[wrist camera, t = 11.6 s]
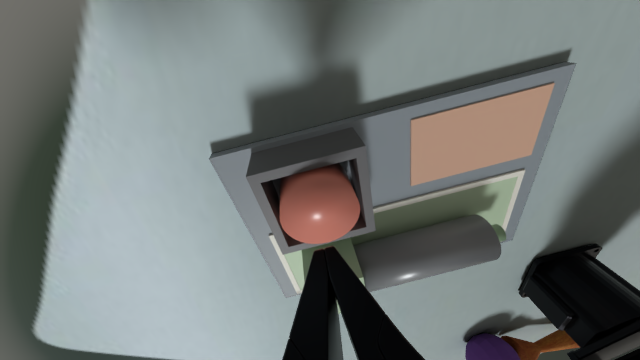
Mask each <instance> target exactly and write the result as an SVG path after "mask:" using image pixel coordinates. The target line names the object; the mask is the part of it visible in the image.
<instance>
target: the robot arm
mask: <svg viewBox="0 0 640 360" xmlns="http://www.w3.org/2000/svg"><path fill="white" fill-rule="evenodd" d="M601 249H602V247H600V246H599V245H597V244H593V245H589V246H585V247H581V248H578V249H574V250H570V251H566V252H562V253H558V254H554V255H550V256H546V257H542V258H539V259H537V260H535V261H534V262H533V264H532V266H531V268H530V270H529V272H528V274H527V277H526V279H525V281H524V283H523V285H522V287H521V289H520V291H519V294H520V295H521V297H523V298H524V297H529V298H530V299H531V300H532V301H533V303H534V304H535V305H536V306H537V307H538V308H539V309H540V310H541V311H542V312H543V314H544V315H545V316H546V317H547V318H548V319H549V320H550V321H551V322H552V323H553V324H554V326H555V327H556V328H557V329H559V330H561V331H563V330H564V331H565V332H566V333H567V334H568V335H569V336H570V337H571V338H572V339H573V340H574V341H575V342H576V343H577V345H578V346H579V347H580V349H578V350H576V351H570V352H569V353H567V355H568V356H569V357H570V359H571V360H610V359H612V358H614V357H616V356H618V355H621V354H623V353H625V352H627V351H629V350H631V349H634V348H636V347H638V346H640V291H639V290H638V289H636V288H635V287H634V286H632V285H631V284H630V283H628V282H627V281H626V280H624V279H623V278H622V277H620V276H619V275H617V274H616V273H615V272H613V271H612V270H611V269H609V268H608V267H607V266H605V265H604V264H603V263H601V262H600V261H598V260H597V259H596V256H597V255H598V254H599V252H600V251H601ZM337 302H338V305H339V308H340V311H341V314H342V317H343V320H344V323H345V325H346V328H347V331H348V334H349V337H350V340H351V343H352V345H353V348H354V351H355V354H356V357H357V360H425V359H424V358H423V357H422V356H421V355H420V354H419V353H418V352H417V351H416V349H415V348H414V347H413V346H412V345H411V344H410V343H409V342H408V341H407V339H406V338H405V337H404V336H403V335H402V334H401V332H400V331H399V330H398V329H397V327H396V326H395V325H394V324H393V322H392V321H391V320H390V319H389V317H388V316H387V315H386V314H385V312H384V311H383V310H382V308H381V307H380V306H379V304H378V303H377V302H376V300H375V299H374V298H373V296H372V295H371V294H370V292H369V291H368V290H367V289H366V287H365V286H364V285H363V283H362V282H361V281H360V279H359V278H358V277H357V275H356V274H355V273H354V272H353V270H352V269H351V268H350V266H349V265H348V264H347V262H346V261H345V260H344V258H343V257H342V256H341V254H340V253H339V252H338V251H337V249H336V248H335V247H334V246H330V247H326V248H325V249H318V250H315V251H314V252H313V255H312V259H311V262H310V266H309V269H308V273H307V276H306V280H305V283H304V287H303V290H302V294H301V297H300V301H299V304H298V308H297V311H296V315H295V318H294V322H293V325H292V329H291V332H290V336H289V338H290V339H288V342H287V346H286V349H285V353H284V356H283V359H282V360H343V352H342V342H341V333H340V323H339V314H338V305H337ZM615 360H640V349H637V350H635V351H633V352H631V353H629V354H626V355H624V356H622V357H620V358H618V359H615Z"/></svg>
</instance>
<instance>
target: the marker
mask: <svg viewBox="0 0 640 360" xmlns="http://www.w3.org/2000/svg"><path fill="white" fill-rule="evenodd" d="M505 240H506V233H505V231H504V229H503V228H502V227H501V226H500V225H498V224H494V225H491V224H490V223H489V222H488V221H487V220H486V219H485V218H483V217H482V216H480V215H476V214H474V215H470V216H466V217H462V218H458V219H454V220H450V221H446V222H443V223H439V224H435V225H431V226H427V227H423V228H419V229H415V230H411V231H408V232H404V233H400V234H396V235H392V236H388V237H384V238H380V239H377V240H373V241H369V242H365V243H361V244H357V245H353V244H352V241H351V238H346V239H342V240H338V241H335V242H331V243H327V244H323V245H319V246H315V247H311V248H307V249H304V250H302V260H303V271H304V282H305V280H306V276H307V273H308V269H309V266H310V262H311V259H312V255H313V252H314V251H315V250H318V249H325V248H326V247H330V246H334V247H335V248H336V249H337V251H338V252H339V253H340V254H341V256H342V257H343V258H344V260H345V261H346V262H347V264H348V265H349V266H350V268H351V269H352V270H353V272H354V273H355V274H356V275H357V277H358V278H359V279H360V281H361V282H362V283H363V285H364V286H365V287H366V289H367V290H368V291H369V292H372V291H376V290H380V289H384V288H388V287H392V286H396V285H399V284H403V283H407V282H411V281H415V280H419V279H423V278H427V277H431V276H435V275H438V274H442V273H446V272H450V271H454V270H458V269H462V268H466V267H470V266H473V265H477V264H481V263H485V262H489V261H493V260H496V259H498V258H499V257H500V254H501V245H500V242H502V241H505ZM337 305H338V302H337ZM340 313H341V311H340V308H339V305H338V314H340Z"/></svg>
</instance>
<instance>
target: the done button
mask: <svg viewBox="0 0 640 360" xmlns="http://www.w3.org/2000/svg"><path fill="white" fill-rule="evenodd" d="M359 214H360V204H359V201H358V198H357V196H356V194H355V192H354V189H353V187H352V185H351V183H350V180H349V178H348V176H347V174H346V171H345V170H344V168H343V167H342V166H341V165H340V164H339V163H336V164H332V165H328V166H324V167H320V168H316V169H312V170H309V171H305V172H301V173H297V174H293V175H289V176H285V177H282V178H281V181H280V223H281V226H282V228H283V229H284V231H285V232H286V233H287V234H288V235H289V236H290V237H292V238H293V239H295V240H297V241H300V242H303V243H308V244H322V243H327V242H331V241H334V240H336V239H338V238H340V237H342V236H344V235H345V234H347V233H348V232H349V231H350V230H351V229H352V228H353V227H354V225H355V224H356V222H357V220H358V218H359Z"/></svg>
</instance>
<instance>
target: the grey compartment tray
mask: <svg viewBox="0 0 640 360" xmlns="http://www.w3.org/2000/svg"><path fill="white" fill-rule="evenodd" d="M575 66H576V63H570V62H563V63H559V64H555V65H551V66H547V67H544V68H540V69H536V70H532V71H528V72H524V73H520V74H517V75H513V76H509V77H505V78H501V79H497V80H494V81H490V82H486V83H482V84H478V85H474V86H471V87H467V88H463V89H459V90H455V91H451V92H447V93H444V94H440V95H436V96H432V97H428V98H424V99H421V100H417V101H413V102H409V103H405V104H401V105H397V106H394V107H390V108H386V109H382V110H378V111H374V112H371V113H367V114H363V115H359V116H355V117H351V118H348V119H344V120H340V121H336V122H332V123H328V124H324V125H321V126H317V127H313V128H309V129H305V130H301V131H298V132H294V133H290V134H286V135H282V136H278V137H275V138H271V139H267V140H263V141H259V142H255V143H251V144H248V145H244V146H240V147H236V148H232V149H228V150H225V151H221V152H217V153H213V154H211V156H210V158H209V160H210V162H211V163H212V165H213V167H214V169H215V171H216V172H217V174H218V176H219V178H220V180H221V181H222V183H223V185H224V187H225V189H226V190H227V192H228V194H229V196H230V198H231V200H232V201H233V203H234V205H235V207H236V209H237V210H238V212H239V214H240V216H241V218H242V219H243V221H244V223H245V225H246V227H247V229H248V230H249V232H250V234H251V236H252V238H253V239H254V241H255V243H256V245H257V247H258V248H259V250H260V252H261V254H262V256H263V258H264V259H265V261H266V263H267V265H268V267H269V268H270V270H271V272H272V274H273V276H274V277H275V279H276V281H277V283H278V285H279V287H280V288H281V290H282V292H283V294H284V296H285V297H286V298H289V297H293V296H296V295H300V294H302V290H303V287H304V283H305V282H304V271H303V260H302V250H304V249H307V248H311V247H315V246H319V245H323V244H327V243H331V242H335V241H338V240H342V239H346V238H351V241H352V244H353V245H357V244H361V243H365V242H369V241H373V240H377V239H380V238H384V237H388V236H392V235H396V234H400V233H404V232H408V231H411V230H415V229H419V228H423V227H427V226H431V225H435V224H439V223H443V222H446V221H450V220H454V219H458V218H462V217H466V216H470V215H474V214H476V215H480V216H482V217H483V218H485V219H486V220H487V221H488V222H489V223H490V224H491V225H494V224H498V225H500V226H501V227H502V228H503V229H504V231H505V233H506V240H505V241H502V242H500V243H503V242H506V241H510V240H513V237H514V234H515V231H516V229H517V226H518V223H519V220H520V218H521V215H522V212H523V209H524V206H525V204H526V201H527V198H528V195H529V193H530V190H531V187H532V184H533V182H534V179H535V176H536V173H537V171H538V168H539V165H540V162H541V160H542V157H543V154H544V151H545V149H546V146H547V143H548V140H549V138H550V135H551V132H552V129H553V127H554V124H555V121H556V118H557V115H558V113H559V110H560V107H561V104H562V102H563V99H564V96H565V93H566V91H567V88H568V85H569V82H570V80H571V77H572V74H573V71H574V69H575ZM336 163H339V164H340V165H341V166H342V167H343V168H344V170H345V171H346V174H347V176H348V178H349V180H350V183H351V185H352V187H353V189H354V192H355V194H356V196H357V198H358V201H359V204H360V214H359V218H358V220H357V222H356V224H355V225H354V227H353V228H352V229H351V230H350V231H349V232H348V233H347V234H345V235H344V236H342V237H340V238H338V239H336V240H334V241H331V242H327V243H322V244H308V243H303V242H300V241H297V240H295V239H293V238H292V237H290V236H289V235H288V234H287V233H286V232H285V231H284V229H283V228H282V226H281V223H280V181H281V178H282V177H285V176H289V175H293V174H297V173H301V172H305V171H309V170H312V169H316V168H320V167H324V166H328V165H332V164H336Z"/></svg>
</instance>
